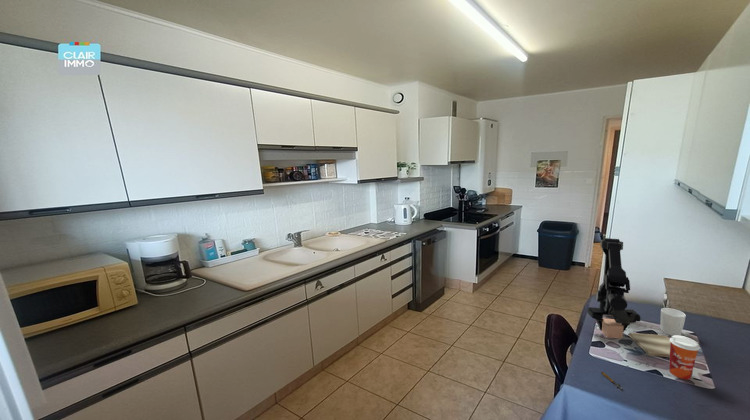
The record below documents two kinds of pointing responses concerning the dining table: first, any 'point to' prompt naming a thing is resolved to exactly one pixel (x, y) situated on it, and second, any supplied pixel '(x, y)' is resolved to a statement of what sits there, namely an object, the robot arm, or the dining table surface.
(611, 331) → the terracotta cube
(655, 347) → the birch board
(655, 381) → the dining table surface
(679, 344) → the paper cup
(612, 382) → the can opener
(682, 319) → the white cup
